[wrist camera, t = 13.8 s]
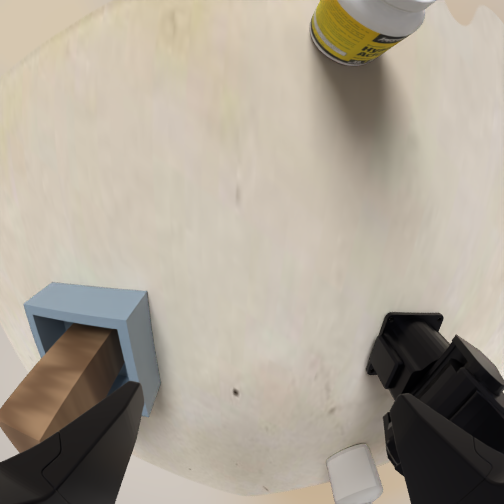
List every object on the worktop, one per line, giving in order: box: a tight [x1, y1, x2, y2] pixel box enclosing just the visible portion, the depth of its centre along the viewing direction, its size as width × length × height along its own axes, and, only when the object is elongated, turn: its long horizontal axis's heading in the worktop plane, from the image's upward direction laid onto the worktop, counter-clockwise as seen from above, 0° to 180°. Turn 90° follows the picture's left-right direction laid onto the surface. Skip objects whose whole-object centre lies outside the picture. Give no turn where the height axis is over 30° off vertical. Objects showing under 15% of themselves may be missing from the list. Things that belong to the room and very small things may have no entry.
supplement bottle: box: [310, 0, 436, 66], centre depth 11 cm, size 5×5×10 cm
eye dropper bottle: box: [326, 444, 383, 504], centre depth 23 cm, size 4×6×12 cm
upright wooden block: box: [0, 323, 125, 453], centre depth 16 cm, size 4×4×13 cm
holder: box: [24, 282, 161, 417], centre depth 21 cm, size 10×10×4 cm
